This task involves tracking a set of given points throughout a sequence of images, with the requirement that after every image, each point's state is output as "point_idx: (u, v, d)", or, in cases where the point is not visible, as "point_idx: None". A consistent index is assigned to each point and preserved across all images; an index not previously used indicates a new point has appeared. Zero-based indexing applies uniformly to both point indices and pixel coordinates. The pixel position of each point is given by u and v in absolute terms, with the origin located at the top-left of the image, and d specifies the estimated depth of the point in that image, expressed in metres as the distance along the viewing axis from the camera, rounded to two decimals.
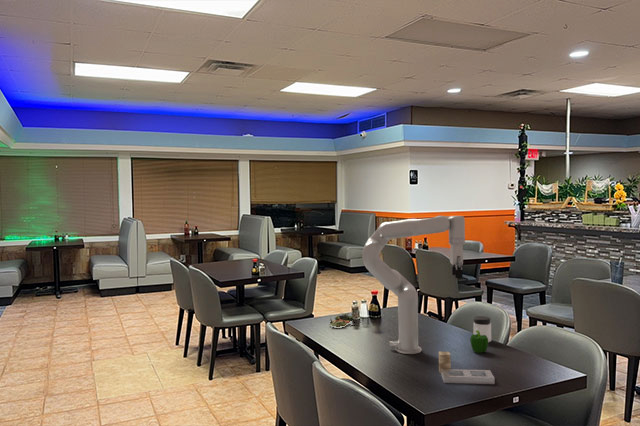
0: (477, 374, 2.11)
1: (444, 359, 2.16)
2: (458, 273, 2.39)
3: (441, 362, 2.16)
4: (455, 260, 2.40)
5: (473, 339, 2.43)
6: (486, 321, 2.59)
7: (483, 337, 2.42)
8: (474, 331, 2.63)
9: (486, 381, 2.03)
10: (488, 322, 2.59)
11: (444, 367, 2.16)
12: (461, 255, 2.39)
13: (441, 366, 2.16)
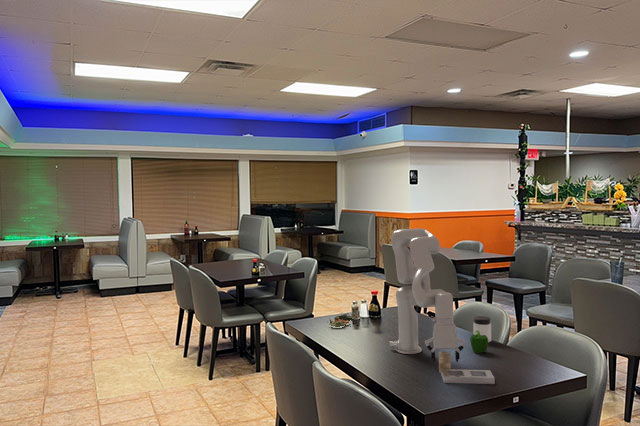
0: (477, 374, 2.11)
1: (444, 359, 2.16)
2: None
3: (441, 362, 2.16)
4: (457, 342, 2.16)
5: (473, 339, 2.43)
6: (486, 321, 2.59)
7: (483, 337, 2.42)
8: (474, 331, 2.63)
9: (486, 381, 2.03)
10: (488, 322, 2.59)
11: (444, 367, 2.16)
12: None
13: (441, 366, 2.16)
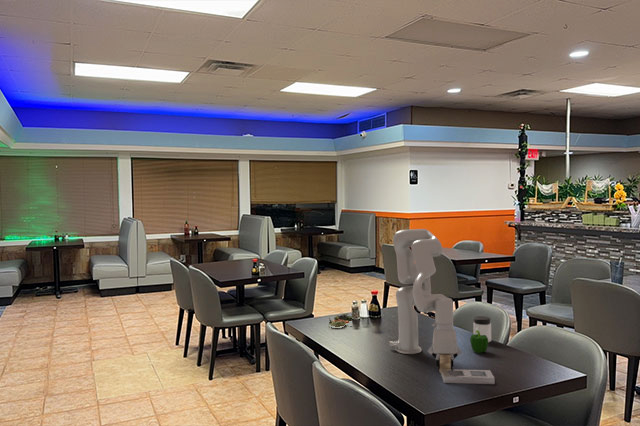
0: (477, 374, 2.11)
1: (444, 359, 2.16)
2: None
3: (441, 362, 2.16)
4: (457, 347, 2.16)
5: (473, 339, 2.43)
6: (486, 321, 2.59)
7: (483, 337, 2.42)
8: (474, 331, 2.63)
9: (486, 381, 2.03)
10: (488, 322, 2.59)
11: (444, 367, 2.16)
12: None
13: (441, 366, 2.16)
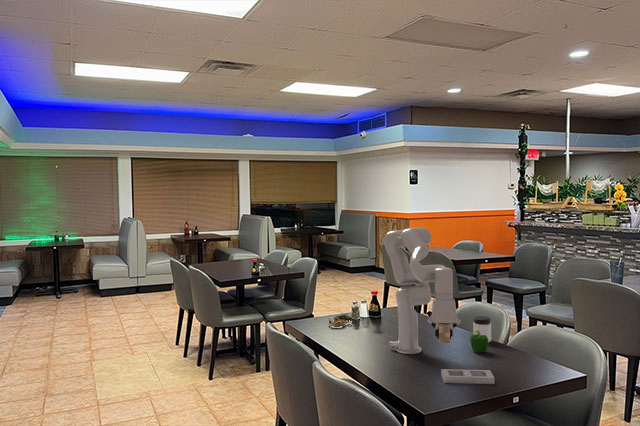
0: (477, 374, 2.11)
1: (443, 329, 2.16)
2: None
3: (440, 332, 2.16)
4: (456, 317, 2.16)
5: (473, 339, 2.43)
6: (486, 321, 2.59)
7: (483, 337, 2.42)
8: (474, 331, 2.63)
9: (486, 381, 2.03)
10: (488, 322, 2.59)
11: (443, 337, 2.16)
12: None
13: (440, 336, 2.16)
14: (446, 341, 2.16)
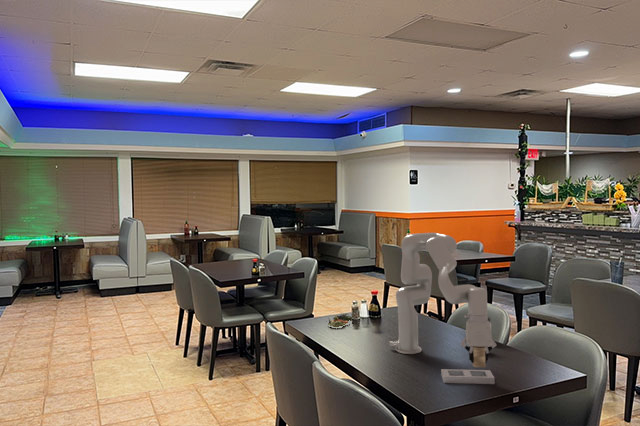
0: (477, 374, 2.11)
1: (478, 352, 2.05)
2: None
3: (475, 355, 2.05)
4: (491, 339, 2.05)
5: None
6: None
7: None
8: None
9: (486, 381, 2.03)
10: None
11: (478, 361, 2.05)
12: None
13: (475, 359, 2.06)
14: (481, 365, 2.05)
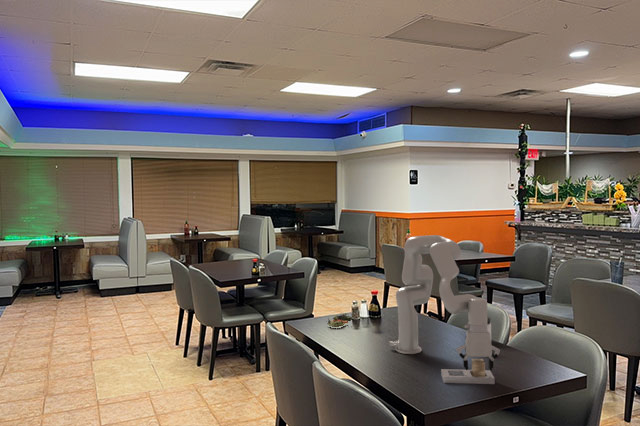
0: None
1: (478, 367, 2.06)
2: None
3: (475, 370, 2.06)
4: (491, 350, 2.06)
5: None
6: None
7: None
8: None
9: (486, 381, 2.03)
10: (488, 322, 2.59)
11: (478, 375, 2.06)
12: None
13: (475, 374, 2.06)
14: None
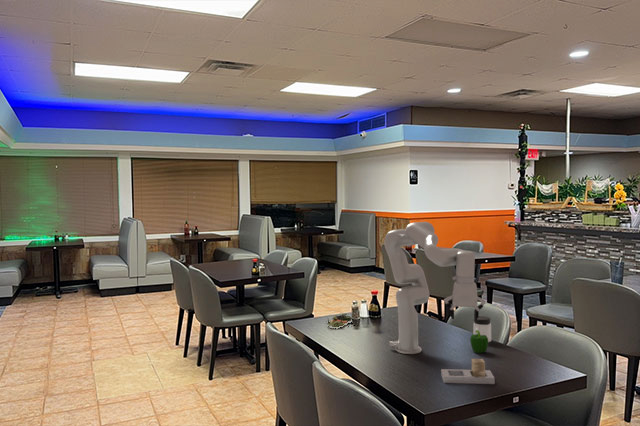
0: None
1: (478, 367, 2.06)
2: None
3: (475, 370, 2.06)
4: None
5: (473, 339, 2.43)
6: (486, 321, 2.59)
7: (483, 337, 2.42)
8: (474, 331, 2.63)
9: (486, 381, 2.03)
10: (488, 322, 2.59)
11: (478, 375, 2.06)
12: None
13: (475, 374, 2.06)
14: None
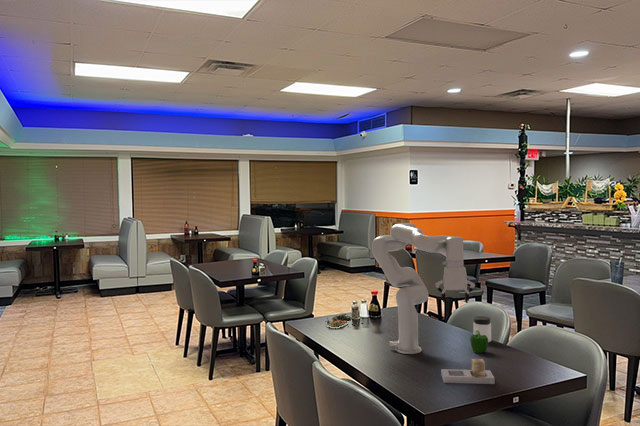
0: None
1: (478, 367, 2.06)
2: None
3: (475, 370, 2.06)
4: None
5: (473, 339, 2.43)
6: (486, 321, 2.59)
7: (483, 337, 2.42)
8: (474, 331, 2.63)
9: (486, 381, 2.03)
10: (488, 322, 2.59)
11: (478, 375, 2.06)
12: None
13: (475, 374, 2.06)
14: None
